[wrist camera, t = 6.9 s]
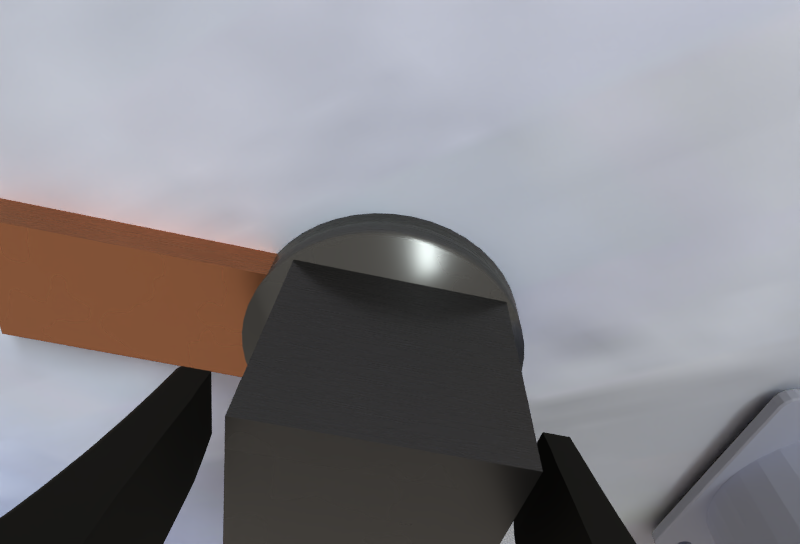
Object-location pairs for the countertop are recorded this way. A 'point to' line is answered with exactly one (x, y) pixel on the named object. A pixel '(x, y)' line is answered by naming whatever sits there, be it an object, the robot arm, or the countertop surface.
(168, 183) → the countertop surface
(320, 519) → the dark grey cube
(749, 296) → the countertop surface
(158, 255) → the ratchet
